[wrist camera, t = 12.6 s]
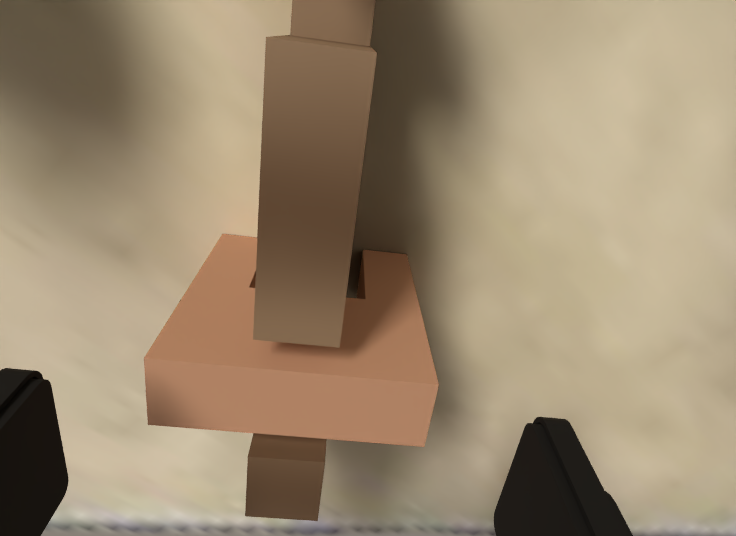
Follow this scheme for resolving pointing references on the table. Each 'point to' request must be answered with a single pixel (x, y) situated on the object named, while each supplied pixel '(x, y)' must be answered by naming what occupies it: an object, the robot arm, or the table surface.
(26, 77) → the table surface
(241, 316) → the slotted plate
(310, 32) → the walnut e-shaped block
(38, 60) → the table surface
